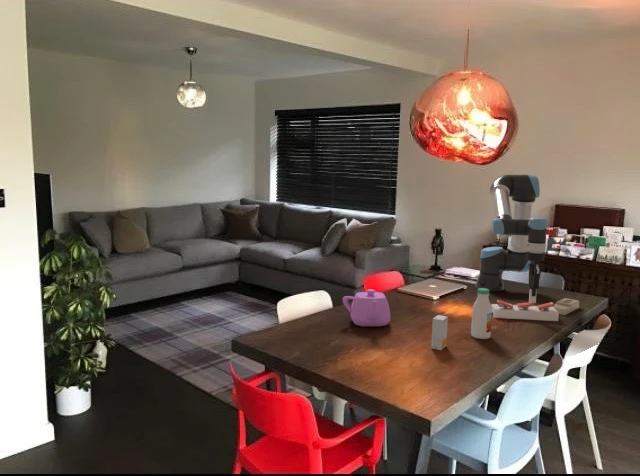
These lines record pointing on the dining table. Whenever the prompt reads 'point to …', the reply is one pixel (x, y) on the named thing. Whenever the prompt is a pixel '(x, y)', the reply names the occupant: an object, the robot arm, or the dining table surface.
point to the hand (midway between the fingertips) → (532, 302)
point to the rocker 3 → (545, 305)
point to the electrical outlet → (566, 306)
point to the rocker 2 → (525, 304)
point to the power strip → (524, 312)
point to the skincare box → (439, 332)
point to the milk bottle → (481, 315)
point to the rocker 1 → (505, 303)
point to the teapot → (368, 308)
